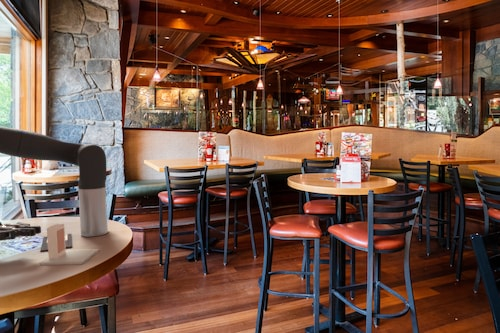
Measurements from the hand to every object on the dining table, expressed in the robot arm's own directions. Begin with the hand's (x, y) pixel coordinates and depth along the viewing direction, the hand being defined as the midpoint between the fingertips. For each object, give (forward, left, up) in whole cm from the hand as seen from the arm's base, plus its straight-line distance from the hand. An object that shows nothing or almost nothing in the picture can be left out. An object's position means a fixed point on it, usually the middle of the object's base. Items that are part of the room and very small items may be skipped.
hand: (37, 231), depth 108 cm
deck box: (0, +5, -8) cm, 9 cm away
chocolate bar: (-16, -3, -9) cm, 18 cm away
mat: (0, +10, -8) cm, 13 cm away
